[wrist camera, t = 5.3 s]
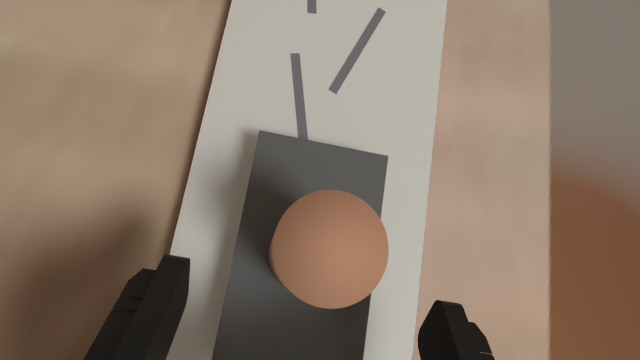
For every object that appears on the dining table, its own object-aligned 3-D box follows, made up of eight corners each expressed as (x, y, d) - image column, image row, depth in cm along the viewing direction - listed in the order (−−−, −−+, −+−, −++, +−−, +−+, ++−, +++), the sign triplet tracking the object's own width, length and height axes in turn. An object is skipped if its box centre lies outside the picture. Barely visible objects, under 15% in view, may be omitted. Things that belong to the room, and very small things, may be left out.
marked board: (396, 396, 20) (407, 407, 18) (150, 363, 18) (140, 372, 17) (441, -38, 26) (452, -57, 24) (258, -85, 24) (258, -108, 23)
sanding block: (347, 375, 18) (417, 466, 10) (215, 357, 18) (175, 438, 9) (374, 168, 20) (450, 102, 12) (259, 145, 20) (258, 59, 12)
